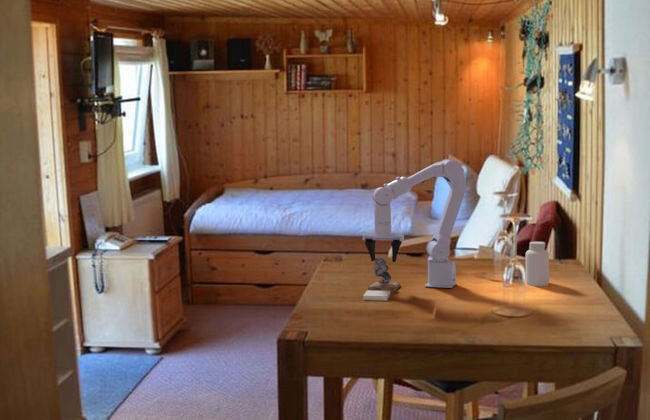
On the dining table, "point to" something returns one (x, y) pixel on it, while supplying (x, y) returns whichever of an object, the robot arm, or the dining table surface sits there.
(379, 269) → the seashell
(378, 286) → the walnut base
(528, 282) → the pill bottle
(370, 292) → the ceramic tile
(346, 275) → the dining table surface
